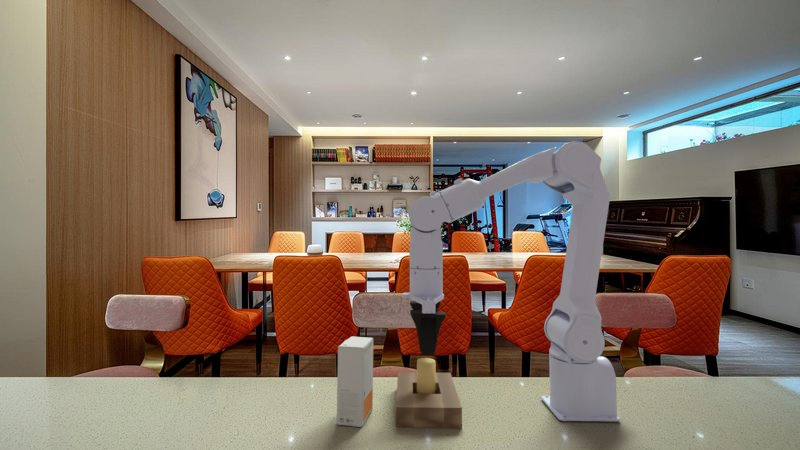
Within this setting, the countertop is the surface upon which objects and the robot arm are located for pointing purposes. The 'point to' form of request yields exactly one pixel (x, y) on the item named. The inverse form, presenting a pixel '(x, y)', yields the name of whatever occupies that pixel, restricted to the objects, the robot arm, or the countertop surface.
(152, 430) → the countertop surface
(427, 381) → the peg
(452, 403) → the socket block
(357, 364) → the skincare box
